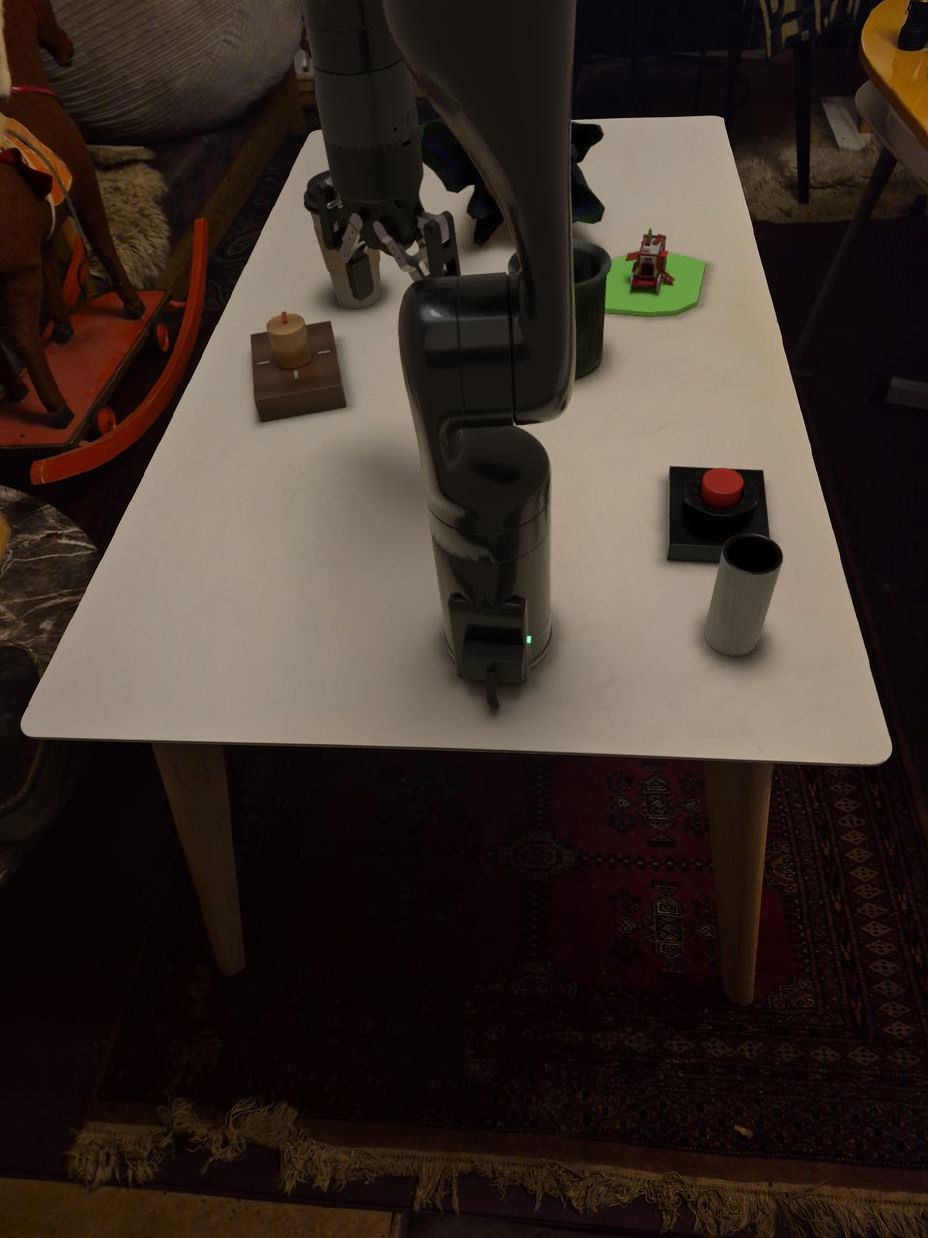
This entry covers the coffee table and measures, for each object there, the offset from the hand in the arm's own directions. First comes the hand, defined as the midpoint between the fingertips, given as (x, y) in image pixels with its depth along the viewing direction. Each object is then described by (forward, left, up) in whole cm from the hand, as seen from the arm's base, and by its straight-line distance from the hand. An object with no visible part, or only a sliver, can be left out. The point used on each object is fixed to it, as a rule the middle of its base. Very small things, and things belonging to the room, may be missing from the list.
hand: (397, 310), depth 79 cm
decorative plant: (+49, -6, -18) cm, 53 cm away
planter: (-22, -32, -18) cm, 42 cm away
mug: (+19, -12, -18) cm, 29 cm away
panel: (+13, +17, -17) cm, 28 cm away
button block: (-8, -31, -17) cm, 36 cm away
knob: (+13, +17, -14) cm, 26 cm away
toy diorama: (+36, -23, -18) cm, 46 cm away
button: (-8, -31, -14) cm, 34 cm away
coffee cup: (+32, +14, -18) cm, 40 cm away
